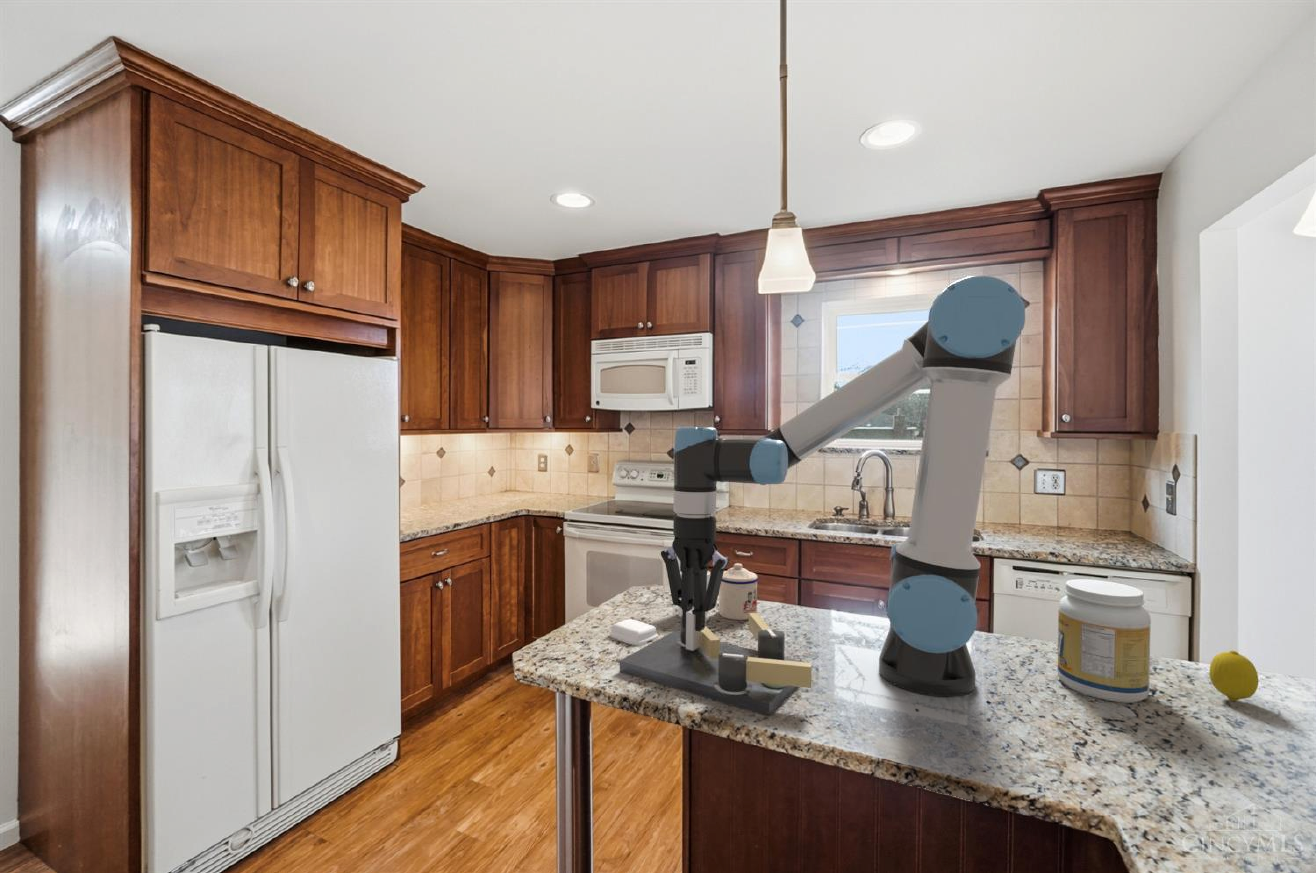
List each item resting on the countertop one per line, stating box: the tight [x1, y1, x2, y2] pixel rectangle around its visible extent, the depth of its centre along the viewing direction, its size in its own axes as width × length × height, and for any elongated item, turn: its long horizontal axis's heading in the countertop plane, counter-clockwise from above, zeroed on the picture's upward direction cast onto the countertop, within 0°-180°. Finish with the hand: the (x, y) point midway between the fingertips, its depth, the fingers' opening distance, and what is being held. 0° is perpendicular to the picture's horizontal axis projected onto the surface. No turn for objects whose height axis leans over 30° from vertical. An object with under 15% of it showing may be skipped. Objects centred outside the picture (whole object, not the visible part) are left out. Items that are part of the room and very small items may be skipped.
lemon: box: [1209, 650, 1259, 702], centre depth 93 cm, size 6×6×8 cm
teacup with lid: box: [718, 562, 759, 621], centre depth 136 cm, size 12×9×12 cm
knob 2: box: [748, 612, 786, 660], centre depth 108 cm, size 14×5×5 cm, turn 6°
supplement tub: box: [1056, 578, 1152, 703], centre depth 97 cm, size 12×12×17 cm
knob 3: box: [718, 651, 812, 691], centre depth 92 cm, size 14×5×5 cm, turn 76°
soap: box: [608, 618, 659, 647], centre depth 120 cm, size 9×7×3 cm
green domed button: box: [763, 683, 787, 688], centre depth 94 cm, size 4×4×1 cm
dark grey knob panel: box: [619, 630, 810, 717], centre depth 102 cm, size 28×19×2 cm
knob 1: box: [679, 616, 721, 659], centre depth 107 cm, size 14×5×5 cm, turn 16°
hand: (693, 647), depth 104 cm, fingers closed
